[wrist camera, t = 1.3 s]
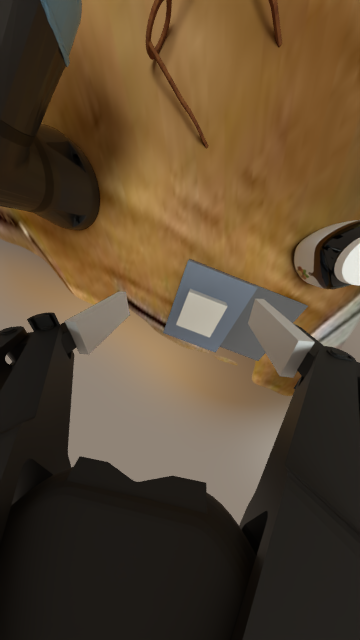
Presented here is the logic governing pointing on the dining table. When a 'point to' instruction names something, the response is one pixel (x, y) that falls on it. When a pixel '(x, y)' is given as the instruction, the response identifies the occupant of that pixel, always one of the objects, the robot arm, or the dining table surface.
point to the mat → (242, 334)
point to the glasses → (154, 51)
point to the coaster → (201, 313)
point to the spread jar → (330, 256)
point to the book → (213, 286)
